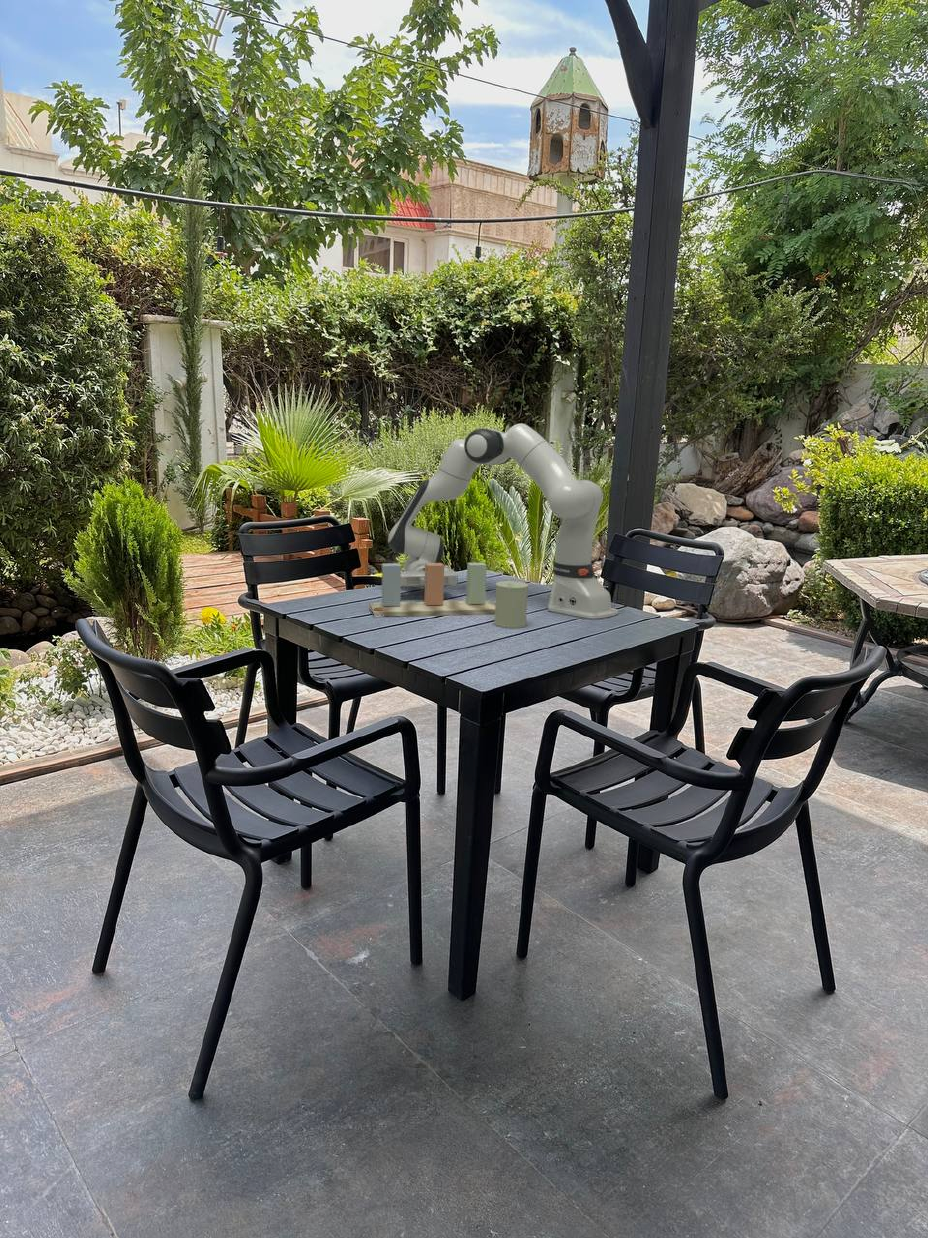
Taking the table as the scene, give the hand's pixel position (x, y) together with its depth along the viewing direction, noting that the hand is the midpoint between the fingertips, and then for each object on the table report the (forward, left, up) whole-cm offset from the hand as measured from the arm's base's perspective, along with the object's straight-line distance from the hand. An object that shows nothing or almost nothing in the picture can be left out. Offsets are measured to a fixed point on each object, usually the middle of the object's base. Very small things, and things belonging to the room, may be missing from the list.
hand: (430, 583), depth 245 cm
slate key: (0, +15, -5) cm, 16 cm away
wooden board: (-8, +4, -6) cm, 11 cm away
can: (-32, -4, -7) cm, 33 cm away
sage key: (-12, -8, -5) cm, 15 cm away
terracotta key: (-6, +4, -5) cm, 9 cm away
